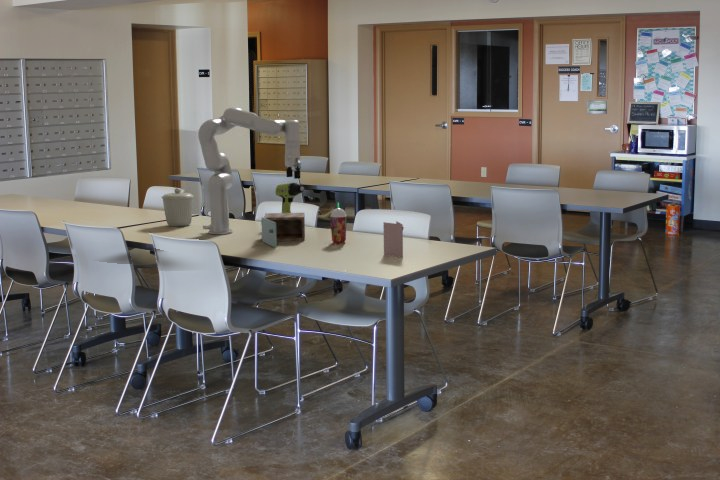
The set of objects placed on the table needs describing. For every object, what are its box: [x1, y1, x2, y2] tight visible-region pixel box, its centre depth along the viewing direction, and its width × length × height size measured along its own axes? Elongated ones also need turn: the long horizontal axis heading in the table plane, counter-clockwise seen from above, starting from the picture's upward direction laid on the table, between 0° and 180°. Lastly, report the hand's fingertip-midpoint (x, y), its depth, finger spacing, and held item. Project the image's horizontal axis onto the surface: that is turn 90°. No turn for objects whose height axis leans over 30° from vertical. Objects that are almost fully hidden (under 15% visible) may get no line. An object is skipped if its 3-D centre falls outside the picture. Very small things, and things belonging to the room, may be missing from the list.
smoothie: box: [329, 202, 348, 245], centre depth 464 cm, size 8×8×20 cm
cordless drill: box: [274, 182, 305, 213], centre depth 512 cm, size 23×7×25 cm, turn 40°
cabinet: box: [264, 212, 306, 242], centre depth 481 cm, size 20×16×12 cm
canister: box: [161, 187, 195, 228], centre depth 529 cm, size 18×18×21 cm
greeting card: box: [383, 220, 405, 258], centre depth 429 cm, size 11×7×15 cm, turn 12°
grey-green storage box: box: [260, 216, 278, 248], centre depth 463 cm, size 21×3×12 cm, turn 23°
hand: (293, 177), depth 488 cm, fingers open, 9 cm apart
